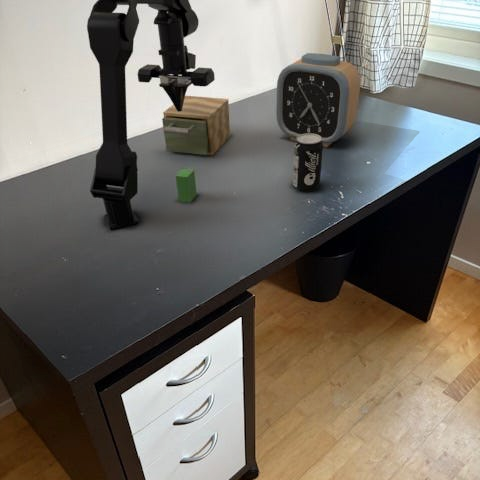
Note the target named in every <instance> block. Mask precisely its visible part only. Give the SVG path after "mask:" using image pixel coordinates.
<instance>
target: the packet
mask: <svg viewBox="0 0 480 480" xmlns="http://www.w3.org/2000/svg"><path fill="white" fill-rule="evenodd" d="M195 175H196V173H195V169H189V168H182V169H181V170H180V171H178V173H176V174H175V181H176V182H175V183H176V189H177V197H178V202H180V203H181V202H182V203H189V204H190V203H192V201H193V200H194V199H195V198H196V197H197V195H198V193H197V186H196V185H197V184H196V176H195Z"/></svg>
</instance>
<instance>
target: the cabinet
mask: <svg viewBox="0 0 480 480" xmlns="http://www.w3.org/2000/svg"><path fill="white" fill-rule="evenodd" d="M162 113H163V114H162V115H163V118H164V117H167V118H169V116H178V117H189V118H200V119H207V126H208V139H209V150H208V151H209V154H208V155H207V156H213V155H214V154H215V153H216V152H217V151H218V150H219V149H220V148H221V147H222V145H223V144H224V143H226V142H227V140H229V138H230V137H231V125H230V124H231V123H230V104H229V98H224V97H223V98H222V97H221V98H220V97H219V98H218V97H210V96H209V97H207V96H197V95H195V96H194V95H185V98H184V103H183V108H182V111H181V112H179V111H177V109H176V108H175V106H174V104H173V103H172V104H171V106H169V107H168V108H167V109H165V110H164V111H163V112H162Z"/></svg>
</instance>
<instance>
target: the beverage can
mask: <svg viewBox="0 0 480 480" xmlns="http://www.w3.org/2000/svg"><path fill="white" fill-rule="evenodd" d="M321 140H322V138H321V136H319V135H317V134H312V133H306V134H301V135H299V136H297V141H294V146H293V167H292V186H293V187H294V188H295V189H296V190H297V191H300V192H304V193H308V192H313V191H316V190H317V189H318V188H319V187H320V183H321V175H322V165H323V164H322V162H323V151H324V147H323V143H322V141H321Z"/></svg>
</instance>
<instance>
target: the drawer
mask: <svg viewBox="0 0 480 480" xmlns="http://www.w3.org/2000/svg"><path fill="white" fill-rule="evenodd" d="M161 121H162V128H163V135H164V143H165V148H166V150H165V151H166V152H167V151H168V152H176V153H183V154H184V153H185V154H195V155H202V156H209V155H208V154H209V151H208V150H209V139H208V126H207V119H200V118H189V117H178V116H169V118H167V117H164V116H163V117H162V118H161Z"/></svg>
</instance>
